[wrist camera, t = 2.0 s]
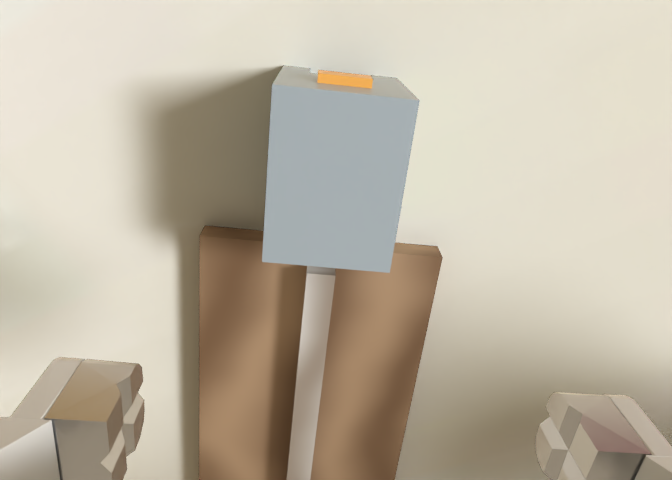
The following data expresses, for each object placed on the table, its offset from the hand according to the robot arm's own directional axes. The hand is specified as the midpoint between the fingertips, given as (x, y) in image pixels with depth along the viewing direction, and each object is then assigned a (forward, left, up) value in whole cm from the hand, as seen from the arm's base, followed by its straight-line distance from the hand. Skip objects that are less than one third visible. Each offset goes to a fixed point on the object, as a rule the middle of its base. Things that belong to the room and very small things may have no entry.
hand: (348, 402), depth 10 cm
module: (0, 0, -21) cm, 21 cm away
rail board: (0, +17, -20) cm, 27 cm away
